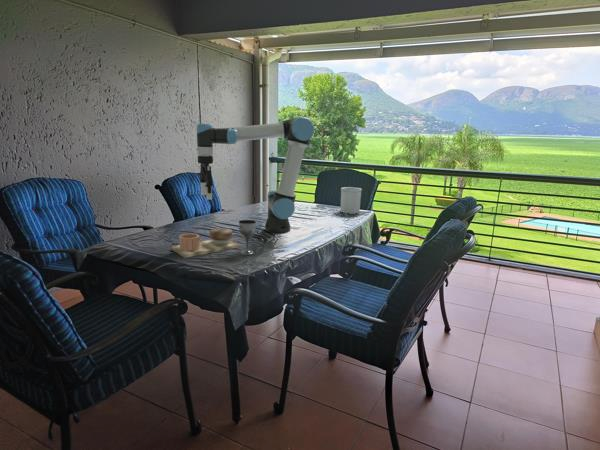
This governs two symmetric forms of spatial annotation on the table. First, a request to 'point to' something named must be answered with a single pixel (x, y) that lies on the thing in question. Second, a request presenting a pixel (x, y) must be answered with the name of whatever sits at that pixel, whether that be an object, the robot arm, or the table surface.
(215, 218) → the table surface
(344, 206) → the utensil holder
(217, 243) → the light grey domed disc
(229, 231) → the lid
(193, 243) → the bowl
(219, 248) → the serving board
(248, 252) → the wine glass
